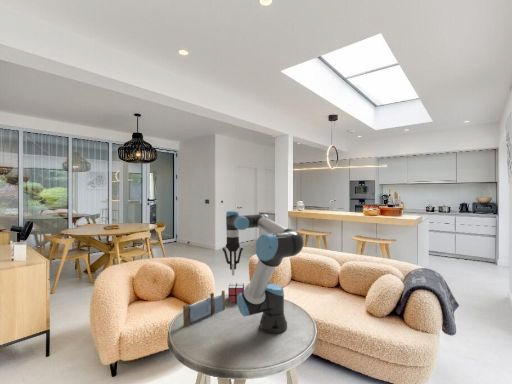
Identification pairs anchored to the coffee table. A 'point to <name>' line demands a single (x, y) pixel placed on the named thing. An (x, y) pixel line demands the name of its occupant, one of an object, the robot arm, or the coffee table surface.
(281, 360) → the coffee table surface
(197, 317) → the gate
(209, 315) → the latch line mat
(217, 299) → the fence panel
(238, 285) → the puzzle cube
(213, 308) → the hinge post
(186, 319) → the post
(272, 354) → the coffee table surface
